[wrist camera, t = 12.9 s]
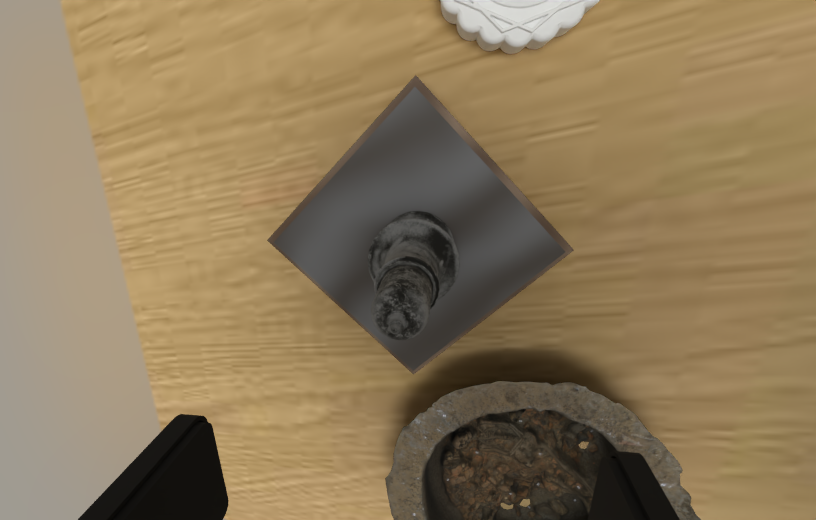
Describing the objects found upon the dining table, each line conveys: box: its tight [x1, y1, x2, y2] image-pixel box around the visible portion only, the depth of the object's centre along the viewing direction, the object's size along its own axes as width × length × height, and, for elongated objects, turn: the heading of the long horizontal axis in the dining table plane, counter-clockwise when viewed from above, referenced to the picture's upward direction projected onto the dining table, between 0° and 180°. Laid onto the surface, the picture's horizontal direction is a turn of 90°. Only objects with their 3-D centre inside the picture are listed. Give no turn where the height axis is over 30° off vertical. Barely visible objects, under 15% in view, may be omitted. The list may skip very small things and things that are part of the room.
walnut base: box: [267, 75, 574, 374], centre depth 30 cm, size 16×16×5 cm
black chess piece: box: [368, 211, 460, 340], centre depth 22 cm, size 6×6×12 cm
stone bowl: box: [385, 381, 701, 520], centre depth 35 cm, size 25×25×9 cm
